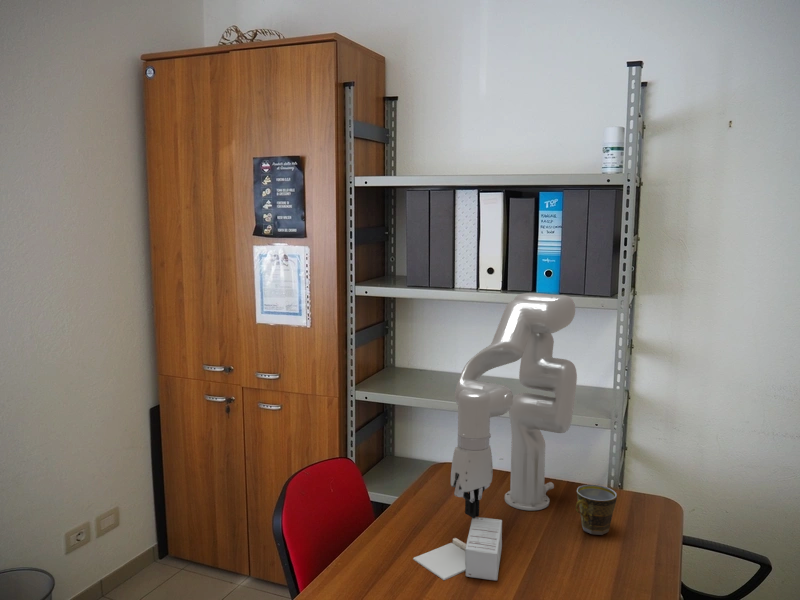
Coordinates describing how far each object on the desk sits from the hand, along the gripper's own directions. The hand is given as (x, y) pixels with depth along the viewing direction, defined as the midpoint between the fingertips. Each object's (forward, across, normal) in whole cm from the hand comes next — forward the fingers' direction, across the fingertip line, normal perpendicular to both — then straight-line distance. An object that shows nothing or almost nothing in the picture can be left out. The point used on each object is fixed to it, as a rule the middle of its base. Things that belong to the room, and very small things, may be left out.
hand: (472, 514), depth 151 cm
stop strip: (+9, +1, 0) cm, 9 cm away
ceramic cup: (+9, -32, +11) cm, 35 cm away
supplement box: (+4, -3, +3) cm, 5 cm away
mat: (+9, +8, 0) cm, 12 cm away
